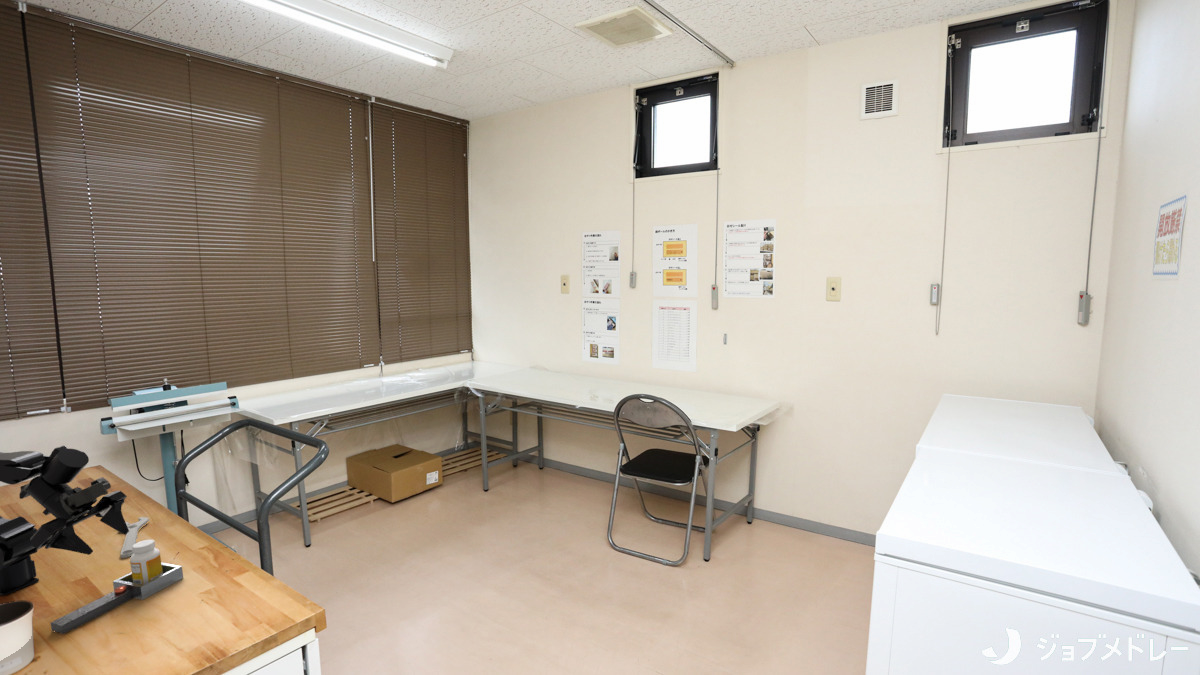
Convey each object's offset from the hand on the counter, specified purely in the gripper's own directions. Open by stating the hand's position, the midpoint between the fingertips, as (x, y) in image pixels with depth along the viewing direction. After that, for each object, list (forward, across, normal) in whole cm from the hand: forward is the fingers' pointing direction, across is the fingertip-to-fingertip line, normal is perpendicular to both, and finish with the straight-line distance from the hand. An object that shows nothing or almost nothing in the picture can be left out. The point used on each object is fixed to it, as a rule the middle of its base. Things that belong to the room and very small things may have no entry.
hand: (110, 542), depth 129 cm
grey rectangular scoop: (+12, -6, +3) cm, 14 cm away
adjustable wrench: (-4, +22, +20) cm, 30 cm away
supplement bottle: (+13, 0, +1) cm, 13 cm away
